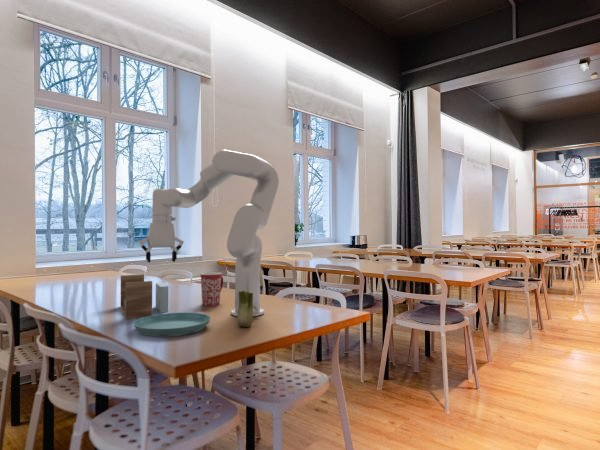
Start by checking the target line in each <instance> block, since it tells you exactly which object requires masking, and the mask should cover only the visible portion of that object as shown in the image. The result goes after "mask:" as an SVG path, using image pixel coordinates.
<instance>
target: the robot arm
mask: <svg viewBox="0 0 600 450" xmlns="http://www.w3.org/2000/svg"><path fill="white" fill-rule="evenodd" d="M211 161H212V163H211V164H209V165H208V166H206V167H204V168H203V169H201V171H200V172H199V176H200V178H199V180H198V181H197V182H196V183H195V184H194V185H191V187H189V188H188V189H182V188H179V187H178V188H177V187H176V188H175V187H174V188H168V189H165V188H156V189H154V190H153V191H152V210H151V211H152V215H151V219H152V222H149V228H148V236H147V237H145V238H143V239H141V240H139V241H138V244H139V245H140V247H141V248H142V249H143V251H145V261H147V263H151V259H152V258H151V253H152V252H151V250H153V248H154V249H155V248H157V249H158V248H170V249H171V250H172V251H171V261H172V262H174V263H175V262H176V260H177V257H178V256H177V255H178V252H179V250H180V249H181V248H182V246H183V244H184V240H182V239H180V238H178V237H176V234H175V226H174V223H173V221H176V216H173V208H183V209H189V208H192V207H194V206H196V205H198V204H199V203H201V202H202V201H204V200H205V199H207V197H209V196H210V195H211V193H212V192H213V190H215V188H217V187H219V186H220V185H221V184H222V185H223V183H225V182H226V181H228V180H230V179H232V178H233V177H234V176H239V177H243V178H248V179H249V180H250V179H251V180H254V181H256V186H255V188H254V189H253V192H252V195H251V198H250V201H249V203H247V204H244V205H241V207H240V208H239V209H238V210H237V212H236V214H235V215H234V218H233V221H232V224H231V227H230V230H229V234H228V236H227V240H226V250H227V251H228V253H229V255H230V256H232V257H234V258H236V259H235V271H234V273H235V274H234V278H235V279H234V280H235V281H234V290H235V291H234V292H235V293H234V295H235V297H234V298H235V299H234V309H231V310H230V314H231V315H232V316H235V317H237V316H238V308H239V291H245V292H249V293H253V317H257V316H261V315H264V313H265V311H264V309H263V308H261V259H262V249H263V244H262V239H261V237H260V236H259V235H258V234H257V232H258V230H262V229H263V228H265V227H266V226H267V223H268V221H269V217H270V215H271V214H270V213H271V212H272V208H273V205H274V201H275V199H276V194H277V192H278V188H279V183H280V181H279V174H278V171H276V169H275V167H273V165H271V163H269V162H268V161H266V160H265V159H263V158H261V157H260V156H256V155H254V154H249V153H242V152H239V151H233V150H228V149H220V150H219V151H217V152H215V154H214V155H213V156H212V160H211ZM146 242H147V245H148V246H147V247H146V246H145V243H146ZM176 242H177V243H178V245H177V246H175V245H176Z"/></svg>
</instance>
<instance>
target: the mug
mask: <svg viewBox="0 0 600 450" xmlns="http://www.w3.org/2000/svg"><path fill="white" fill-rule="evenodd" d="M222 274H223V273H222V272H218V271H217V272H216V271H214V272H213V271H212V272H211V271H210V272H209V271H207V272H201V273H200V281H201V282H200V286H201V287H200V288H201V300H202V301H201V302H202V303H201V304H202V306H205V307H215V306H220V305H221V304H220V303H221V301H220V300H221V292H222V289H223V287H224V277H223V275H222Z"/></svg>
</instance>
